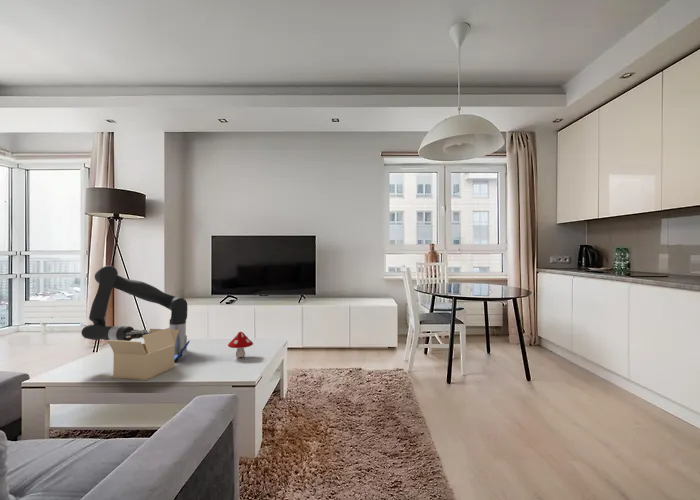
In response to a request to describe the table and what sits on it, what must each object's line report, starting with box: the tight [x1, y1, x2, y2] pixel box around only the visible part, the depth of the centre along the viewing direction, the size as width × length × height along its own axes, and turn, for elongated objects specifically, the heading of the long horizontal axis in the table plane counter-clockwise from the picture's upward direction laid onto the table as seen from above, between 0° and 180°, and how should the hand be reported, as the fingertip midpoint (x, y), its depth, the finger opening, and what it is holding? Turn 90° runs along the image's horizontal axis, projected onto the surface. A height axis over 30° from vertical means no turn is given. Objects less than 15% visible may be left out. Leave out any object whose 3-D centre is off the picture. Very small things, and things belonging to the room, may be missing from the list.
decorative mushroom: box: [227, 331, 254, 358], centre depth 210 cm, size 14×14×15 cm
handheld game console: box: [174, 340, 191, 364], centre depth 206 cm, size 16×13×9 cm
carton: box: [107, 328, 179, 381], centre depth 182 cm, size 28×19×19 cm, turn 170°
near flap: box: [142, 327, 174, 353], centre depth 181 cm, size 19×9×1 cm
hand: (151, 334), depth 182 cm, fingers closed
